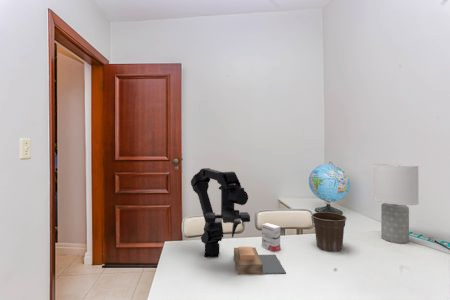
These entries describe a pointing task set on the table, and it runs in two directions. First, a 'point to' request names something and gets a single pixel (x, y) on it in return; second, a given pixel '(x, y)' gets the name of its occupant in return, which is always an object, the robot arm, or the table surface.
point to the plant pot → (329, 230)
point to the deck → (248, 264)
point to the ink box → (271, 237)
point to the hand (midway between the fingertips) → (227, 237)
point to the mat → (271, 265)
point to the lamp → (395, 198)
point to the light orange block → (246, 253)
